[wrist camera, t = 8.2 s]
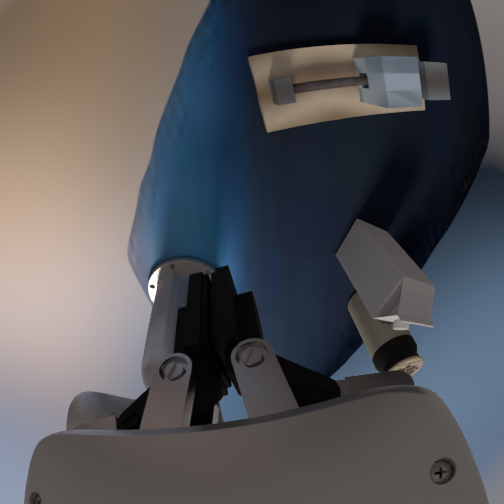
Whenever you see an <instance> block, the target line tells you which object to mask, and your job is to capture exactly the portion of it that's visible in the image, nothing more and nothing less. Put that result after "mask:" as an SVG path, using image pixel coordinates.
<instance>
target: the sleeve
mask: <svg viewBox="0 0 504 504" xmlns="http://www.w3.org/2000/svg"><path fill="white" fill-rule="evenodd" d="M353 61H354V66H355V71H356V76H367V78H368V84H369V85H361V86H358V88H359V95H360V101H361V102H363V103H367V104H372V105H376V106H380V107H384V108H388V109H391V108H403V107H420V106H423V102H422V92H421V83H420V75H419V68H418V62H417V57H403V56H376V57H362V58H353Z"/></svg>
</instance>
